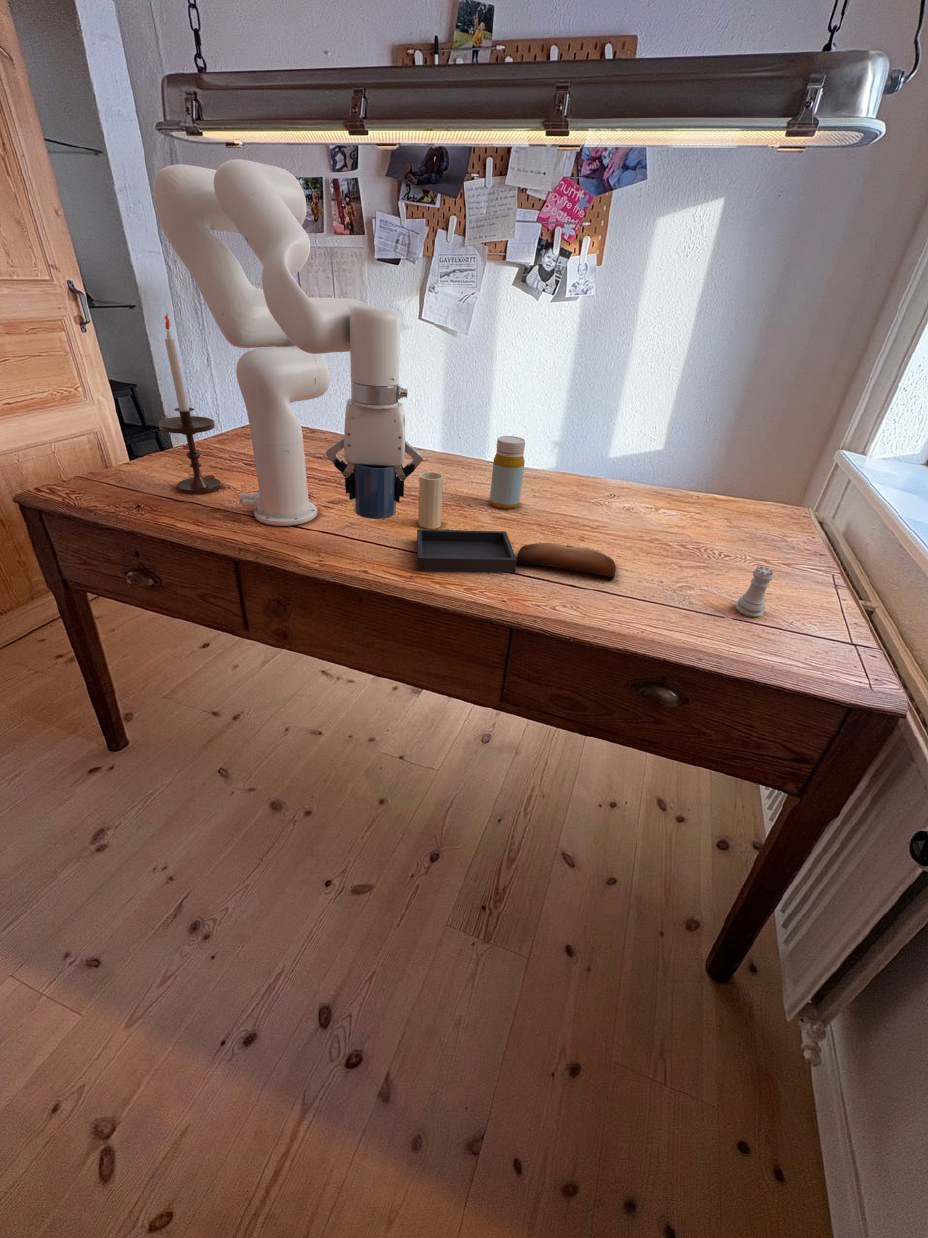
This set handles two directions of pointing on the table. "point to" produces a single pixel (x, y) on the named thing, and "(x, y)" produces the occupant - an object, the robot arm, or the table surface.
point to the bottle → (507, 472)
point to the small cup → (430, 499)
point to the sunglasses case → (567, 558)
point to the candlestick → (187, 425)
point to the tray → (464, 551)
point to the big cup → (374, 491)
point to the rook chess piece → (755, 593)
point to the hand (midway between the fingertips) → (375, 497)
